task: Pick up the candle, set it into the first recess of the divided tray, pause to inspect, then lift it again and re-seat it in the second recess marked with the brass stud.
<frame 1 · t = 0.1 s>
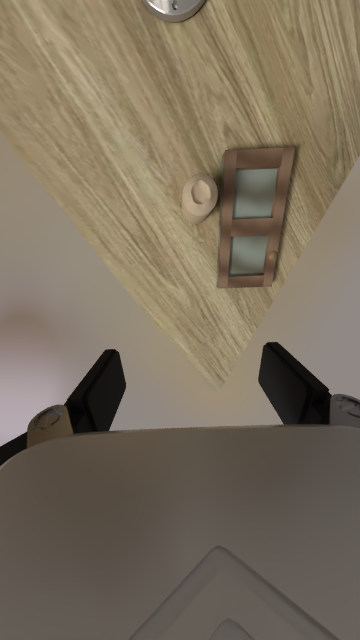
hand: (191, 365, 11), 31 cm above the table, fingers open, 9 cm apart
candle: (195, 209, 34), on the table
divided tray: (247, 228, 35), on the table
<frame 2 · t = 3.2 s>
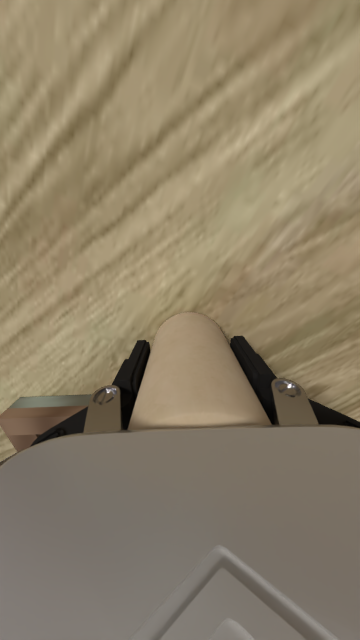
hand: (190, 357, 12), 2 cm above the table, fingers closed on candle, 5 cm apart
candle: (188, 341, 14), on the table, touching gripper
divided tray: (154, 435, 18), on the table
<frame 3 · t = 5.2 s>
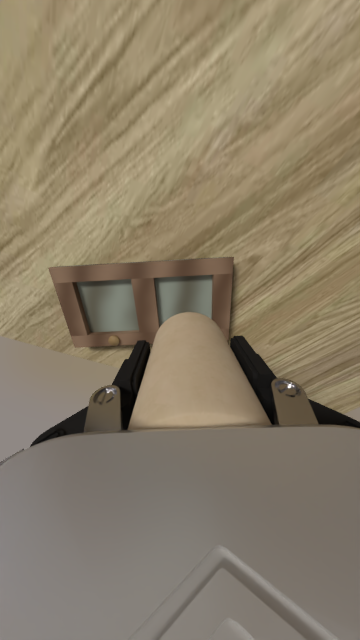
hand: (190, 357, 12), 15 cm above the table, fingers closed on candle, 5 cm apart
candle: (188, 341, 14), point 13 cm above the table, touching gripper
divided tray: (148, 302, 26), on the table
when the fingers open (5 cm above the table, at t = 7.5 s): candle drops 1 cm, resting on divided tray.
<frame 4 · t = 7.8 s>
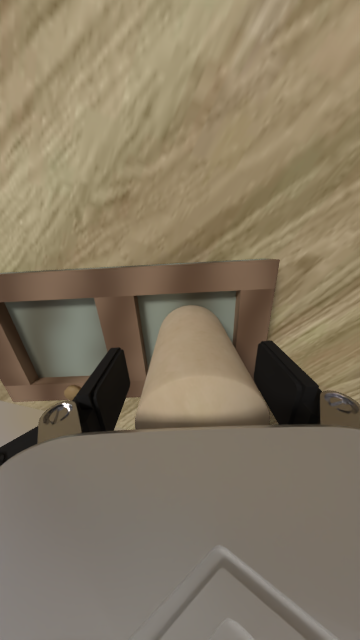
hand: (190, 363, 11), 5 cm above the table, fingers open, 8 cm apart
candle: (190, 332, 15), point 1 cm above the table, touching divided tray
divided tray: (130, 331, 16), on the table
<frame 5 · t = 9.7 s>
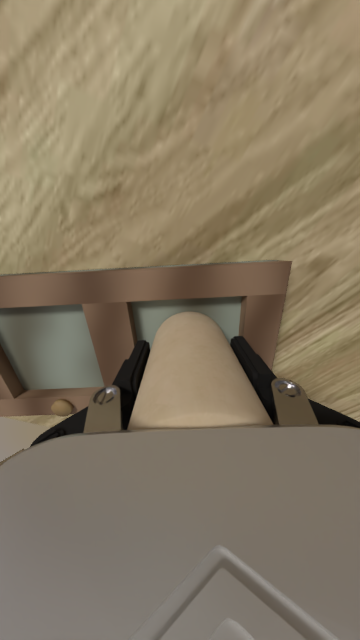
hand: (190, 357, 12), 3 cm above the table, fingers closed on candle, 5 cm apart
candle: (188, 341, 14), point 1 cm above the table, touching gripper, divided tray
divided tray: (124, 340, 15), on the table
when the fingers open (5 cm above the table, at t = 14.0 s): candle drops 1 cm, resting on divided tray.
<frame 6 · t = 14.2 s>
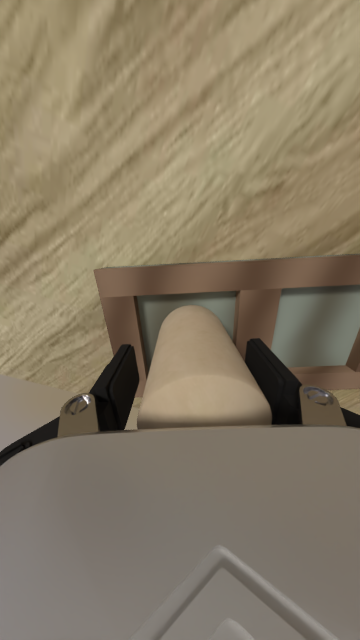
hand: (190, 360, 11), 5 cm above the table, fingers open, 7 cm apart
candle: (191, 332, 15), point 1 cm above the table, touching divided tray
divided tray: (245, 326, 16), on the table
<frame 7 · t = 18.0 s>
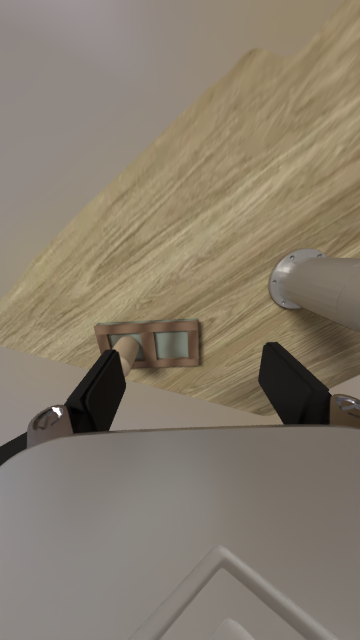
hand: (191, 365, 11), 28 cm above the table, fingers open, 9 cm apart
candle: (128, 345, 42), point 1 cm above the table, touching divided tray
divided tray: (150, 342, 42), on the table
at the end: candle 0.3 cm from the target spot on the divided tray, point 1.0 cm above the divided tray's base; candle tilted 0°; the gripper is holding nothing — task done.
